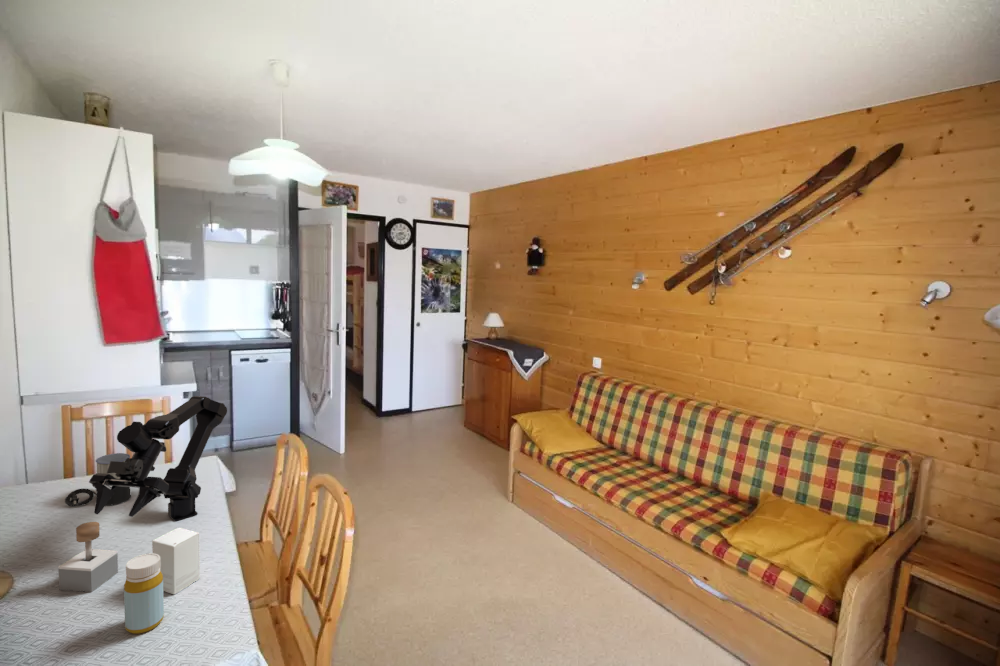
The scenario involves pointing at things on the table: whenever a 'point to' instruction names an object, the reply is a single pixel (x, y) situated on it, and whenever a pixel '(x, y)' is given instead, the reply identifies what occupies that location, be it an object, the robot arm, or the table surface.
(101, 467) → the milk frother
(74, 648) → the table surface
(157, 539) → the supplement box
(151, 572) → the bottle
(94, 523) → the plunger
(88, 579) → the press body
